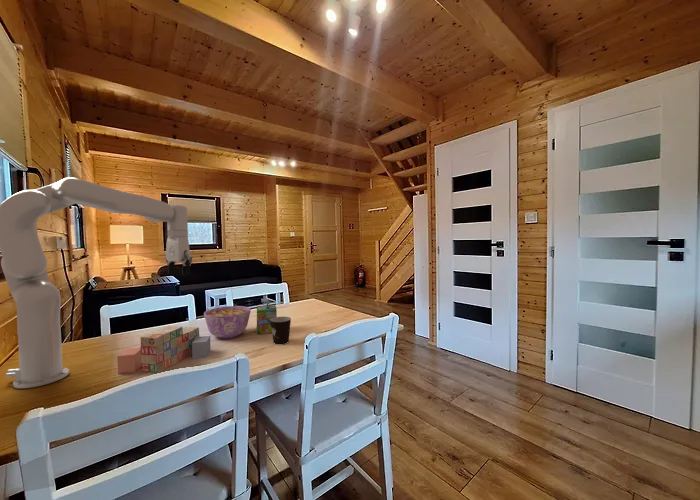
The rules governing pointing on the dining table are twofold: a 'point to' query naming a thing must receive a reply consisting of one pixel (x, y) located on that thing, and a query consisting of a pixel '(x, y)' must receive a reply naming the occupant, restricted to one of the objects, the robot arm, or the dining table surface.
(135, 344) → the dining table surface
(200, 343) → the slate brick
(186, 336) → the stack of blocks
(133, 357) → the terracotta brick
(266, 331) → the juice box
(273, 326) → the coffee mug
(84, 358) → the dining table surface
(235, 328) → the bowl of food
